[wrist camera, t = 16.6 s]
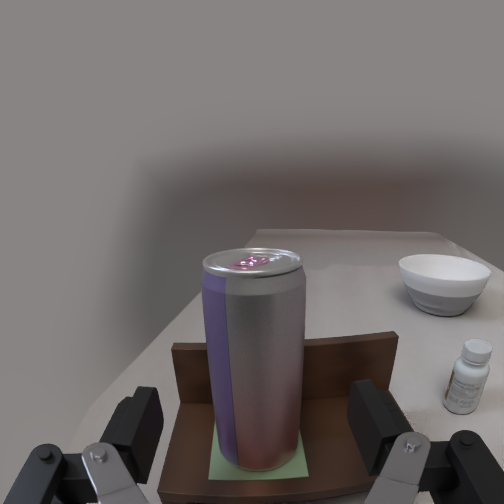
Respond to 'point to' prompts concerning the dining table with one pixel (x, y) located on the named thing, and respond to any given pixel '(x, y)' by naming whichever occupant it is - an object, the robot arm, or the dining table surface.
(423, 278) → the bowl
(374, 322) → the dining table surface
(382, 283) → the dining table surface
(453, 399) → the pill bottle
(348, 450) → the wooden stand
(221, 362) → the beverage can
